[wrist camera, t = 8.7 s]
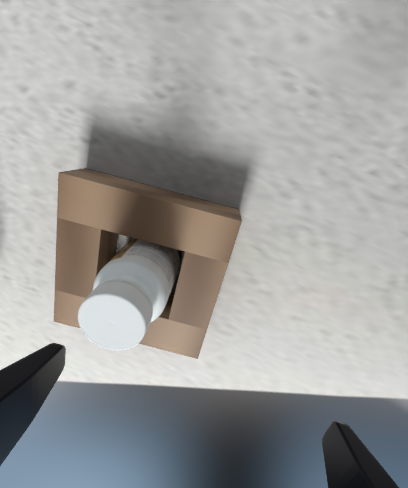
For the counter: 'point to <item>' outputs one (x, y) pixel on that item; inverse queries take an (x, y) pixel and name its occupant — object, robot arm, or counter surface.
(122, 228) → the socket block
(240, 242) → the counter surface
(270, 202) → the counter surface
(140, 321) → the pill bottle
